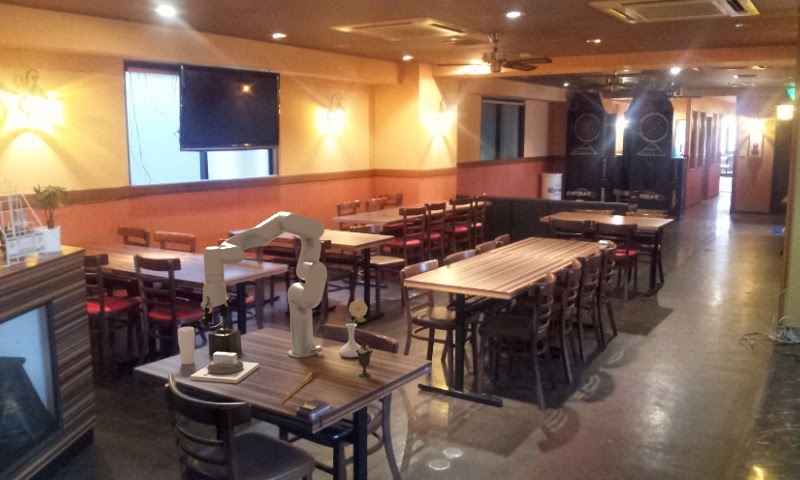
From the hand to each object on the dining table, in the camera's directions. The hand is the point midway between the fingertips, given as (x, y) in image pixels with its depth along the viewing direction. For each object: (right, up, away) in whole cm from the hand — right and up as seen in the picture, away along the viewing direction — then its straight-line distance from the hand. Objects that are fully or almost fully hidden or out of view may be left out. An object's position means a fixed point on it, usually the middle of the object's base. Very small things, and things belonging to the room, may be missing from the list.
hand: (216, 319), depth 275 cm
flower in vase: (+54, -19, +23) cm, 61 cm away
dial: (+3, -20, +2) cm, 20 cm away
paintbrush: (+36, -24, -14) cm, 46 cm away
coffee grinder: (-5, -19, +27) cm, 33 cm away
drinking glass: (-16, -21, +16) cm, 30 cm away
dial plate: (+3, -22, +3) cm, 22 cm away
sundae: (+60, -22, -2) cm, 64 cm away
